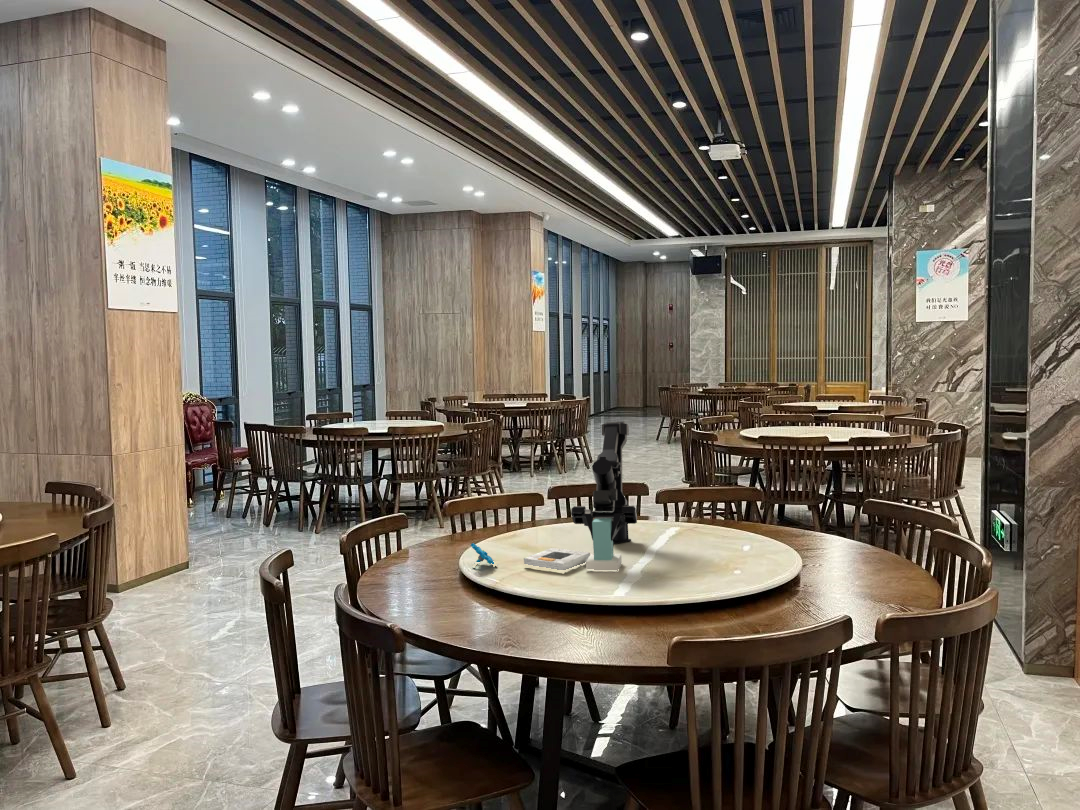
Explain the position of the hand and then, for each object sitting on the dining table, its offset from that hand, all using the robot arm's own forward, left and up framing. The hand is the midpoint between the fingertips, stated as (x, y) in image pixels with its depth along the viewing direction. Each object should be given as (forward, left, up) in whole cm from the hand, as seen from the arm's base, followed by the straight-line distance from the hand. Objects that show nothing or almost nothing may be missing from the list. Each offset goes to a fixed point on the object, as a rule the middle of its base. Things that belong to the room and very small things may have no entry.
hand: (602, 539), depth 252 cm
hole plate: (+8, -12, -9) cm, 17 cm away
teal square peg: (-1, -1, -6) cm, 6 cm away
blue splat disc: (+26, -25, -9) cm, 37 cm away
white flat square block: (-1, -1, -9) cm, 9 cm away
